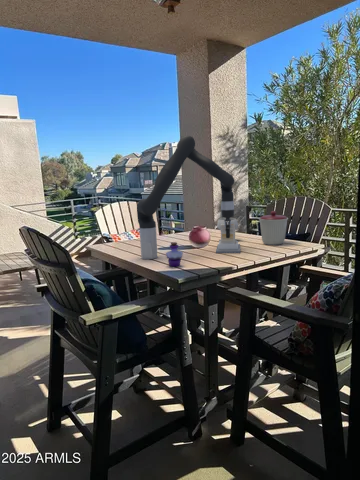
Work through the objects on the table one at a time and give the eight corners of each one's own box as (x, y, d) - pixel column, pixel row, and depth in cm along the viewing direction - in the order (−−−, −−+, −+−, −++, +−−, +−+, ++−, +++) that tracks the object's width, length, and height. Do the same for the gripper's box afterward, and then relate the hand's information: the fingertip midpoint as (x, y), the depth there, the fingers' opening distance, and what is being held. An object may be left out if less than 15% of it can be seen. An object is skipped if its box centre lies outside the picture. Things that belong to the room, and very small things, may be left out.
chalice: (241, 242, 234) (240, 219, 231) (220, 243, 232) (220, 220, 230) (234, 238, 248) (234, 217, 245) (215, 239, 246) (215, 218, 243)
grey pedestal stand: (240, 253, 200) (240, 245, 199) (215, 253, 202) (215, 246, 201) (240, 245, 221) (240, 239, 220) (217, 246, 223) (217, 239, 223)
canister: (255, 245, 219) (255, 212, 216) (262, 240, 235) (262, 209, 232) (285, 247, 212) (286, 212, 208) (289, 241, 228) (290, 209, 224)
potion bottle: (174, 263, 183) (173, 240, 181) (186, 265, 177) (185, 241, 175) (162, 266, 177) (161, 243, 175) (175, 268, 171) (174, 244, 169)
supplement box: (235, 244, 212) (235, 223, 210) (234, 246, 208) (234, 224, 205) (222, 244, 215) (221, 223, 212) (220, 246, 210) (220, 224, 208)
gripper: (233, 209, 200) (234, 239, 203) (234, 207, 214) (234, 235, 217) (220, 210, 201) (221, 239, 204) (221, 208, 215) (222, 235, 218)
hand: (228, 237), depth 210 cm, fingers closed on supplement box, 5 cm apart
